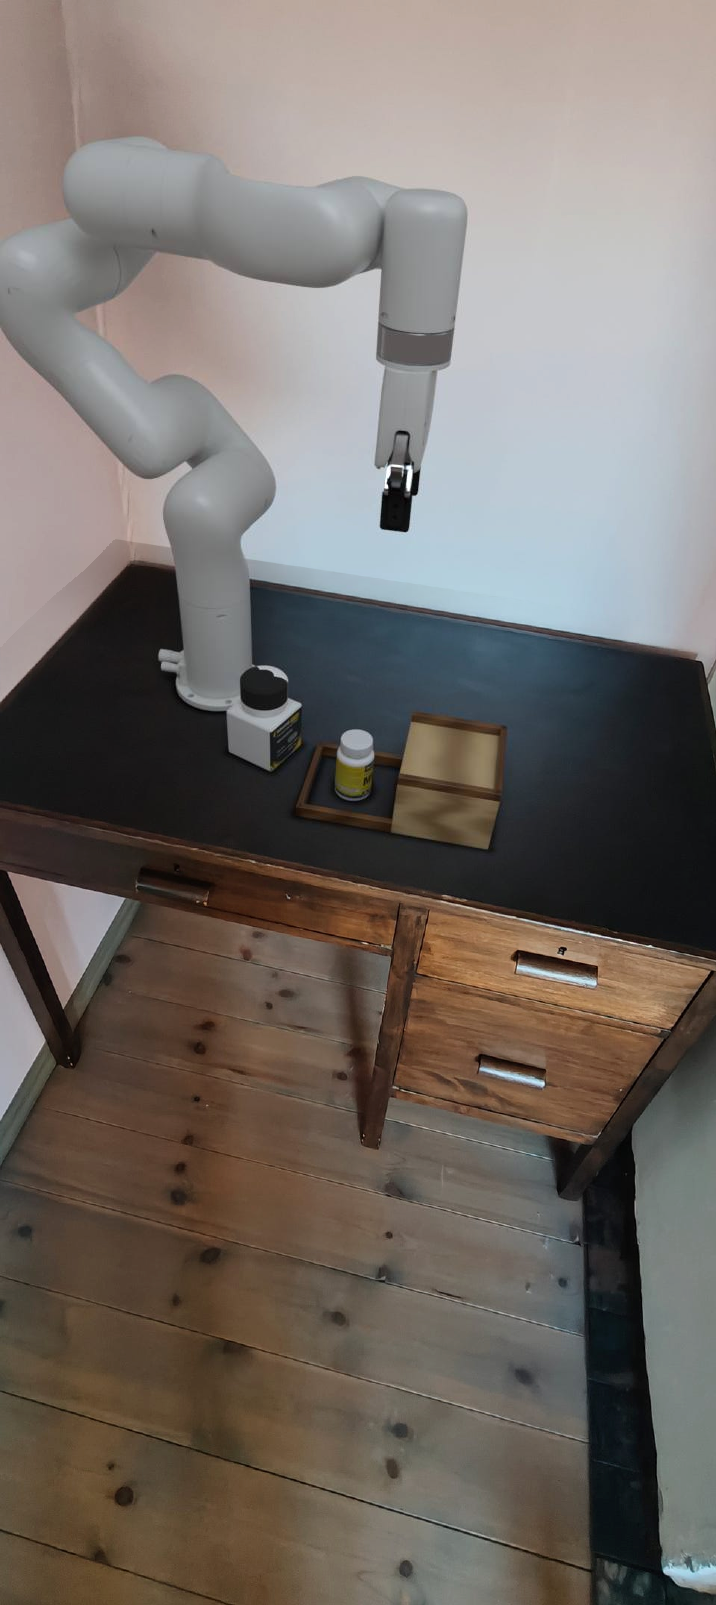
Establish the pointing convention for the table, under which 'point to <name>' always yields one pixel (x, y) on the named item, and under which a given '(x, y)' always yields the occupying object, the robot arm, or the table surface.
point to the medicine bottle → (264, 718)
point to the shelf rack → (433, 782)
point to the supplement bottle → (354, 765)
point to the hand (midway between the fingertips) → (399, 511)
